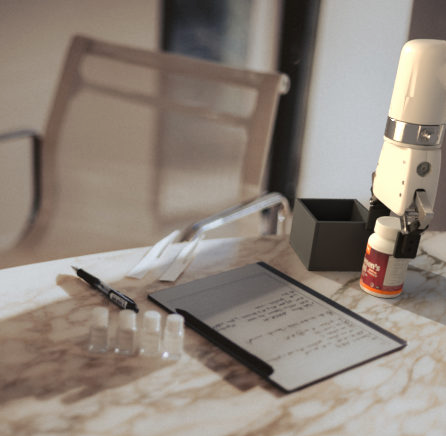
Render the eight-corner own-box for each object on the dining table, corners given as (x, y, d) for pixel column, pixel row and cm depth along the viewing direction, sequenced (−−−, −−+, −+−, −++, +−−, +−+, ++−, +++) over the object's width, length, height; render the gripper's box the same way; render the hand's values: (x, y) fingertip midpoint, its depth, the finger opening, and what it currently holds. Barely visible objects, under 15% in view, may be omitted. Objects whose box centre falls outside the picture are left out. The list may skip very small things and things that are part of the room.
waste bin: (347, 243, 112) (356, 198, 109) (372, 271, 102) (382, 223, 99) (288, 242, 112) (295, 197, 108) (307, 270, 102) (315, 222, 98)
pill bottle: (351, 282, 98) (364, 215, 94) (384, 278, 100) (399, 213, 95) (374, 301, 93) (389, 232, 89) (410, 297, 94) (426, 229, 90)
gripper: (475, 150, 79) (443, 270, 86) (411, 117, 95) (388, 221, 101) (417, 149, 79) (389, 269, 85) (363, 116, 94) (343, 220, 101)
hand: (389, 243), depth 93 cm, fingers open, 9 cm apart
